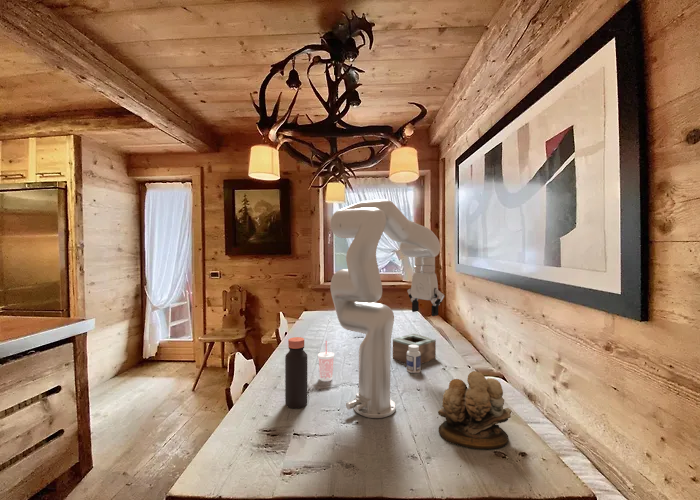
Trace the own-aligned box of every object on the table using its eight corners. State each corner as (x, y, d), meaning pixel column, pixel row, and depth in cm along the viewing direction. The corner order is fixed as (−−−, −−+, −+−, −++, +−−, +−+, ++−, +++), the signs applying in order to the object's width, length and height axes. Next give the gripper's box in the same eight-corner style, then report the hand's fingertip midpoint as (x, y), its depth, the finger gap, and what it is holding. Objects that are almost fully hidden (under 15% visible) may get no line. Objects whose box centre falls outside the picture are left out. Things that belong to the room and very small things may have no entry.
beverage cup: (314, 379, 119) (314, 341, 119) (324, 374, 125) (324, 337, 124) (328, 383, 116) (328, 344, 116) (337, 377, 122) (337, 339, 121)
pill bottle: (418, 368, 131) (418, 343, 131) (422, 373, 126) (422, 348, 125) (405, 368, 131) (405, 344, 131) (408, 373, 125) (408, 348, 125)
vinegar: (311, 400, 103) (311, 337, 103) (300, 410, 97) (300, 343, 97) (292, 397, 106) (292, 335, 105) (281, 406, 99) (280, 341, 99)
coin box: (414, 366, 133) (414, 345, 133) (392, 358, 142) (392, 338, 142) (435, 358, 142) (435, 339, 142) (413, 351, 151) (414, 333, 151)
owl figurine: (502, 426, 89) (504, 363, 89) (520, 453, 78) (521, 382, 77) (435, 421, 91) (436, 360, 91) (442, 447, 80) (443, 378, 79)
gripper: (401, 268, 132) (401, 311, 132) (436, 271, 118) (436, 318, 119) (414, 268, 137) (414, 309, 137) (449, 270, 123) (449, 316, 123)
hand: (424, 313), depth 128 cm, fingers open, 9 cm apart
